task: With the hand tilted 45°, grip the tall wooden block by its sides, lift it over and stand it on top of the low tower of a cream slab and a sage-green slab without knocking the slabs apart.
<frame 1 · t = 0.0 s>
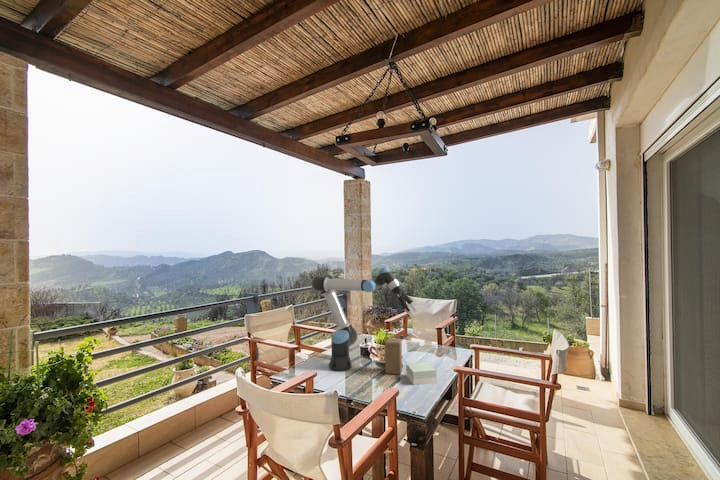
hand: (414, 313, 215), 36 cm above the table, tool tilted 35°, fingers open, 13 cm apart
tower top slab: (420, 373, 196), point 3 cm above the table, touching tower base slab
wooden block: (393, 371, 208), on the table
tower base slab: (421, 380, 196), on the table, touching tower top slab
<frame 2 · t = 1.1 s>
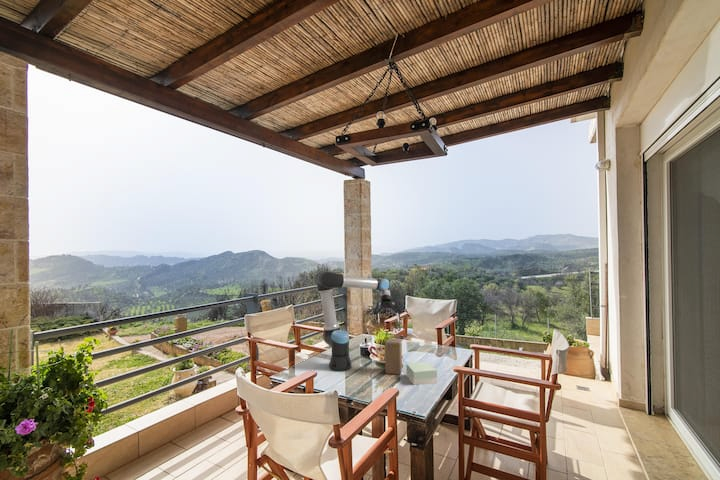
hand: (388, 322, 226), 28 cm above the table, tool tilted 45°, fingers open, 13 cm apart
nothing on the table moved.
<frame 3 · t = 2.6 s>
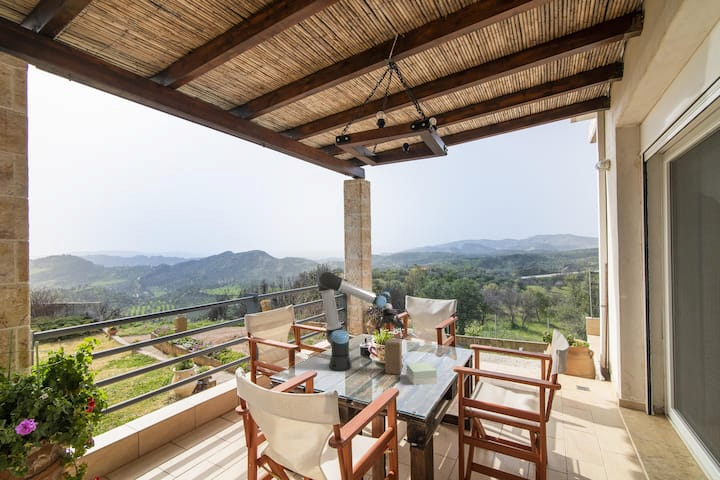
hand: (391, 337, 220), 19 cm above the table, tool tilted 45°, fingers open, 13 cm apart
tower top slab: (421, 373, 195), point 3 cm above the table
tower base slab: (421, 380, 196), on the table
everything else where it was.
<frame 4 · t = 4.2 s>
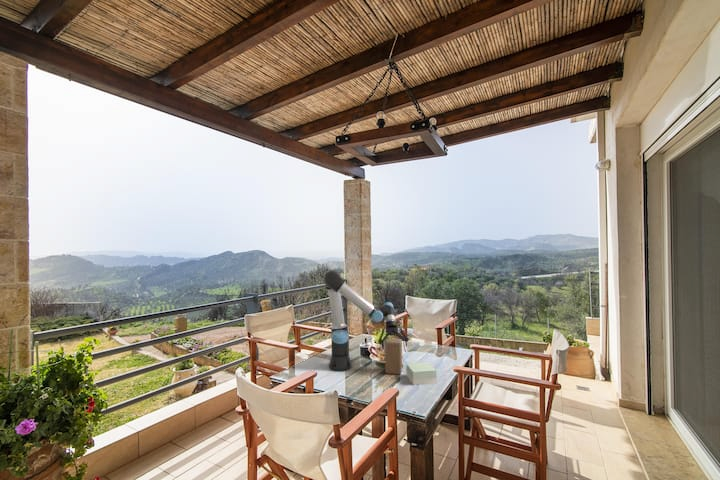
hand: (395, 351, 211), 12 cm above the table, tool tilted 45°, fingers open, 13 cm apart
tower top slab: (420, 373, 195), point 3 cm above the table, touching tower base slab
wooden block: (393, 371, 208), on the table, touching gripper
tower base slab: (421, 380, 196), on the table, touching tower top slab
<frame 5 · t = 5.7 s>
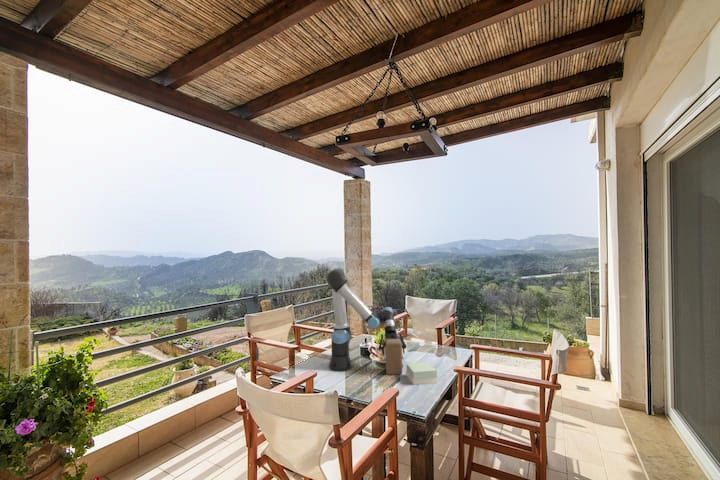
hand: (394, 358, 206), 9 cm above the table, tool tilted 45°, fingers closed on wooden block, 11 cm apart
wooden block: (393, 372, 208), on the table, touching gripper
everything else where it was.
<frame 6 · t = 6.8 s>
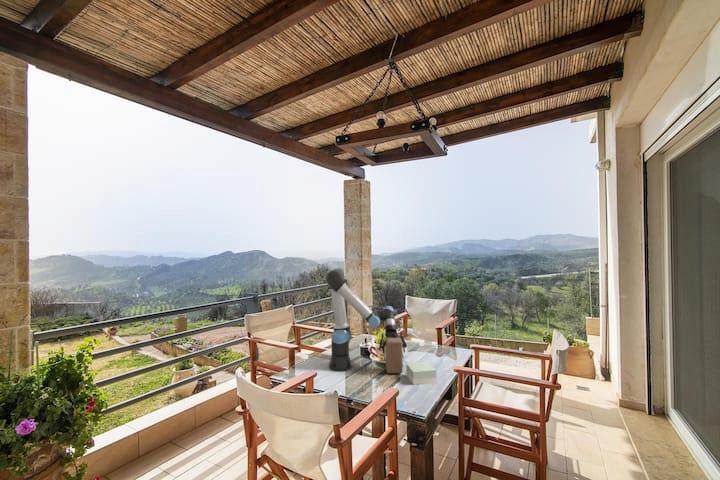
hand: (394, 357, 206), 10 cm above the table, tool tilted 45°, fingers closed on wooden block, 11 cm apart
wooden block: (394, 371, 208), on the table, touching gripper
everything else where it was.
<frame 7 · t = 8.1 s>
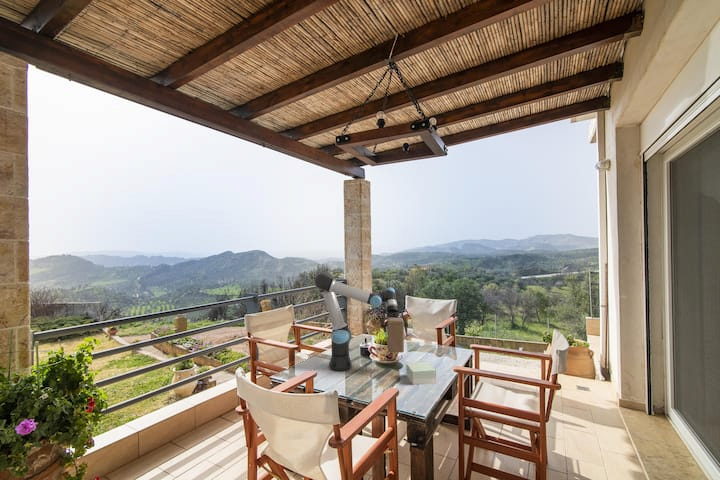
hand: (396, 336, 206), 23 cm above the table, tool tilted 45°, fingers closed on wooden block, 11 cm apart
wooden block: (395, 350, 208), point 14 cm above the table, touching gripper
everything else where it was.
when the fingers open (18 cm above the table, at t = 13.7 s): wooden block drops 1 cm, point 8 cm above the table.
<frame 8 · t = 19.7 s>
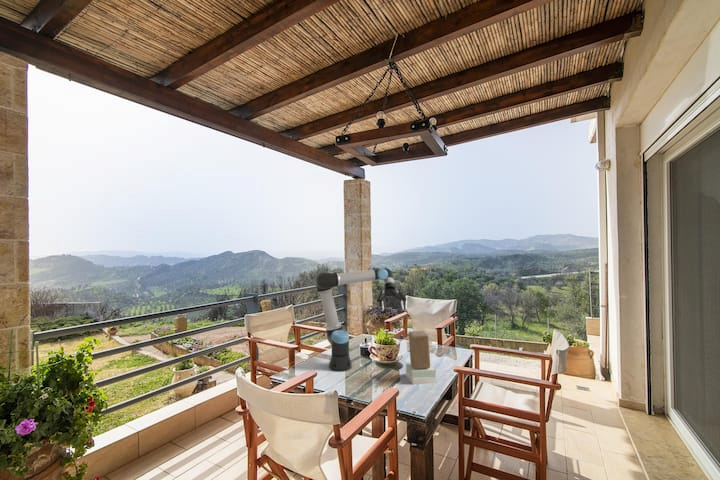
hand: (393, 309, 219), 38 cm above the table, tool tilted 45°, fingers open, 13 cm apart
tower top slab: (420, 373, 197), point 3 cm above the table, touching tower base slab
wooden block: (420, 366, 196), point 8 cm above the table
everything else where it was.
at the end: wooden block 0.4 cm off-centre on the tower base slab, point 8.3 cm above the tower base slab's base; tower top slab 0.2 cm off-centre on the tower base slab, point 4.0 cm above the tower base slab's base; wooden block tilted 4° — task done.
